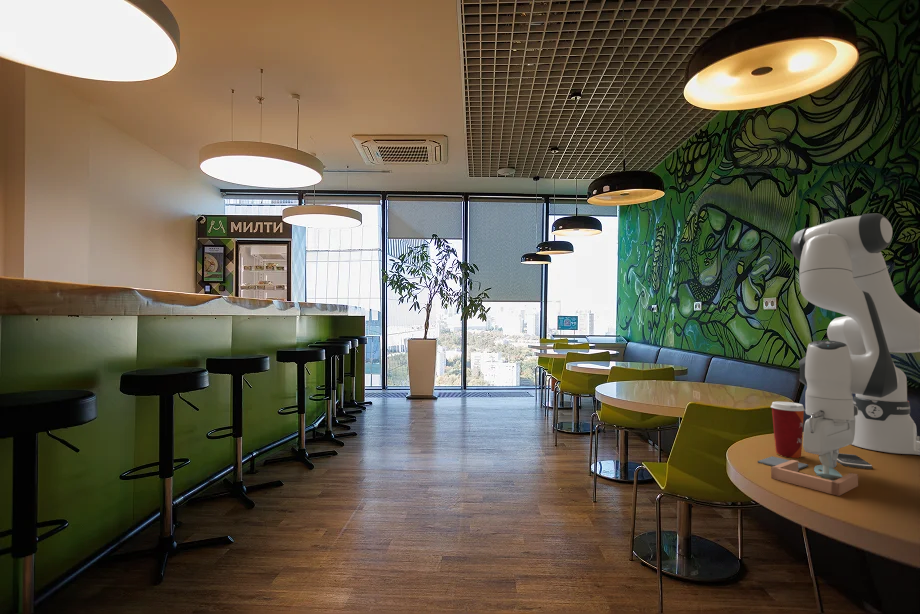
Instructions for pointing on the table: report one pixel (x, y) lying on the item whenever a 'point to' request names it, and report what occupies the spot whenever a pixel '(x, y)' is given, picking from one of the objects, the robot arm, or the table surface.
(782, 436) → the paper cup
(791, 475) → the pink u-shaped bracket
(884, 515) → the table surface
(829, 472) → the pacifier
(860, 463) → the cell phone
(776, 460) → the gray tile
